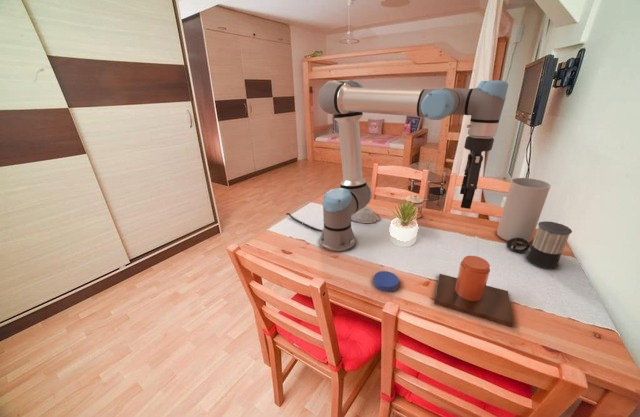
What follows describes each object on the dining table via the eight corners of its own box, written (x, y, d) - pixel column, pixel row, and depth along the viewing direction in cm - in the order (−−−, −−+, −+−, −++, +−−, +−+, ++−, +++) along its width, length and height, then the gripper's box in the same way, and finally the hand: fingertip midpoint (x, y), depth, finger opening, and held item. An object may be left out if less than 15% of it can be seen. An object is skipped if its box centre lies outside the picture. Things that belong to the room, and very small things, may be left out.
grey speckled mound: (346, 203, 152) (346, 193, 149) (384, 217, 137) (385, 206, 134) (329, 215, 143) (328, 204, 139) (368, 231, 128) (368, 219, 124)
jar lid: (392, 295, 85) (393, 290, 84) (369, 285, 90) (369, 280, 89) (401, 281, 91) (402, 276, 90) (379, 272, 96) (380, 268, 95)
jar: (454, 296, 82) (461, 265, 77) (455, 281, 88) (462, 252, 83) (483, 304, 78) (492, 273, 73) (482, 288, 84) (490, 258, 80)
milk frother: (559, 272, 92) (575, 236, 86) (505, 259, 100) (516, 225, 94) (553, 252, 103) (566, 219, 97) (505, 242, 111) (515, 210, 105)
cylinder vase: (520, 247, 107) (539, 190, 96) (490, 234, 117) (504, 181, 106) (537, 239, 112) (557, 184, 101) (506, 227, 122) (522, 176, 112)
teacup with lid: (417, 220, 131) (420, 199, 126) (400, 215, 137) (402, 195, 132) (426, 212, 139) (429, 192, 134) (409, 208, 145) (412, 188, 140)
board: (434, 303, 81) (434, 299, 80) (438, 276, 92) (439, 273, 92) (511, 327, 72) (513, 323, 72) (506, 294, 83) (507, 290, 83)
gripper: (465, 130, 92) (452, 187, 101) (468, 142, 71) (452, 212, 80) (490, 132, 89) (474, 190, 98) (500, 144, 68) (480, 217, 77)
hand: (464, 200), depth 89 cm, fingers open, 13 cm apart
